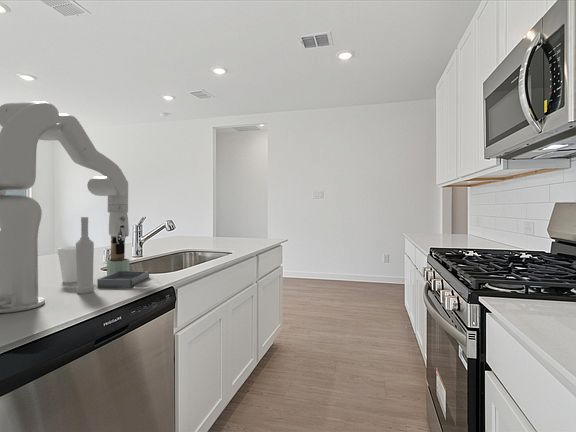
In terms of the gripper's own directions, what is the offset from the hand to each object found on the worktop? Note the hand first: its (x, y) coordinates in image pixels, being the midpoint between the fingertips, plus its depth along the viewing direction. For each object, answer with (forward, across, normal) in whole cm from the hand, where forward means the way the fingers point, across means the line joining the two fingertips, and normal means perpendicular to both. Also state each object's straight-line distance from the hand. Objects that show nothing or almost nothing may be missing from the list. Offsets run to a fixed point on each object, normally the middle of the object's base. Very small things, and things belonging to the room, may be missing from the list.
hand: (117, 252), depth 138 cm
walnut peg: (+7, 0, 0) cm, 7 cm away
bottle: (+10, -20, +17) cm, 27 cm away
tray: (+10, -15, +2) cm, 18 cm away
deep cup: (+10, 0, 0) cm, 10 cm away
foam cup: (+10, 0, +16) cm, 19 cm away
